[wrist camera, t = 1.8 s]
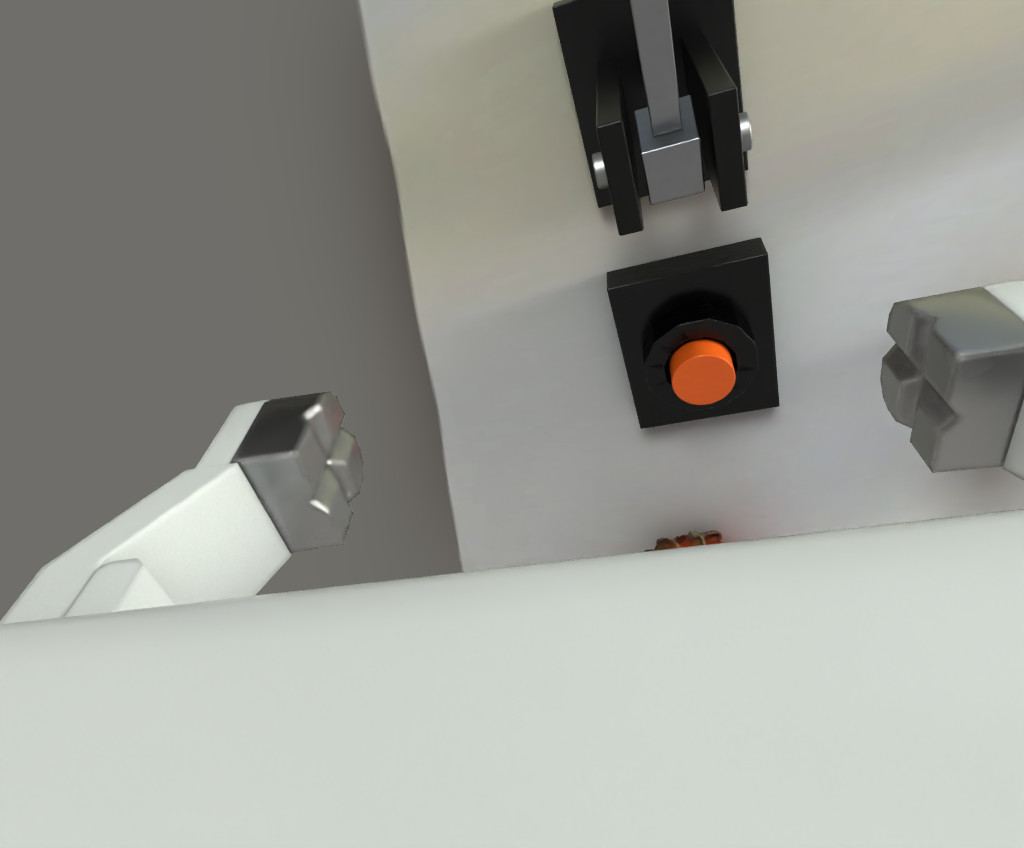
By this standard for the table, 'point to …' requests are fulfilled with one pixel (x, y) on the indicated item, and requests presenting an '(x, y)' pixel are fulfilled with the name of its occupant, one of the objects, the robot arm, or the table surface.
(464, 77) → the table surface
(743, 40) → the table surface
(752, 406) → the button block
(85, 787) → the robot arm
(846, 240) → the table surface
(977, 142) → the table surface
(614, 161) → the switch bracket
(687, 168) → the lever
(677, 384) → the button
